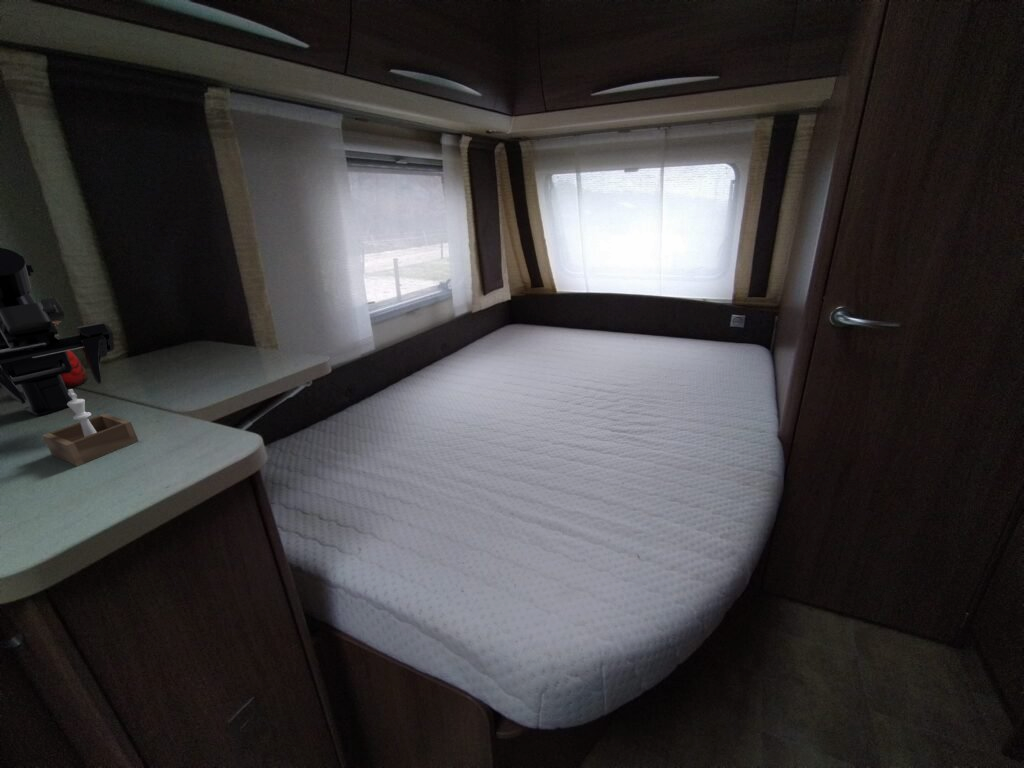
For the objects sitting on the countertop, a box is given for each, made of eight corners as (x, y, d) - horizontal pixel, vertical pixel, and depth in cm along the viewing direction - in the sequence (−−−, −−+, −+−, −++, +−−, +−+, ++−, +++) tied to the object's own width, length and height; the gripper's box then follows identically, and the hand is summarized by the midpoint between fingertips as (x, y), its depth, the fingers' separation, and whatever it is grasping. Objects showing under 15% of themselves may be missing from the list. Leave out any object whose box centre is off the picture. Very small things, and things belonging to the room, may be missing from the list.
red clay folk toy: (46, 386, 98) (14, 319, 92) (88, 377, 103) (60, 312, 97) (47, 395, 93) (14, 325, 87) (92, 385, 98) (62, 317, 92)
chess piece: (83, 458, 68) (55, 398, 64) (70, 451, 70) (42, 393, 66) (122, 443, 72) (97, 386, 68) (108, 437, 74) (83, 381, 70)
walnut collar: (52, 455, 69) (42, 435, 68) (112, 432, 76) (104, 413, 74) (77, 466, 66) (67, 445, 64) (138, 441, 72) (130, 421, 71)
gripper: (-88, 295, 62) (-37, 385, 60) (87, 275, 75) (133, 347, 73) (-63, 342, 69) (-17, 423, 67) (92, 315, 83) (134, 382, 81)
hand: (63, 391), depth 72 cm, fingers open, 9 cm apart
